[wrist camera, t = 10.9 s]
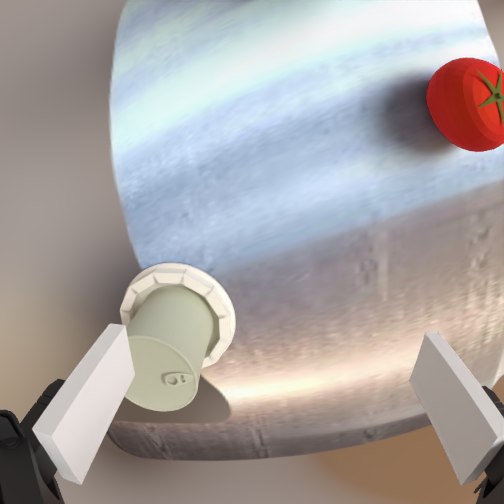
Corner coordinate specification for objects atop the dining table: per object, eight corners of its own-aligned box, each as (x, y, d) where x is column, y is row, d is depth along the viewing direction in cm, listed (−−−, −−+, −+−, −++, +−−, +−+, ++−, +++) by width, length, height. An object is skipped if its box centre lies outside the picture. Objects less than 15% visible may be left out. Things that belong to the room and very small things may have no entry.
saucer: (117, 260, 37) (109, 267, 35) (234, 262, 37) (233, 270, 34) (134, 359, 41) (128, 368, 39) (236, 366, 41) (235, 377, 39)
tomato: (492, 119, 30) (546, 117, 20) (448, 166, 33) (504, 173, 22) (446, 53, 28) (495, 30, 18) (397, 96, 31) (444, 77, 20)
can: (220, 349, 39) (206, 415, 28) (152, 352, 40) (121, 413, 28) (207, 281, 37) (184, 336, 25) (133, 288, 37) (89, 338, 26)
